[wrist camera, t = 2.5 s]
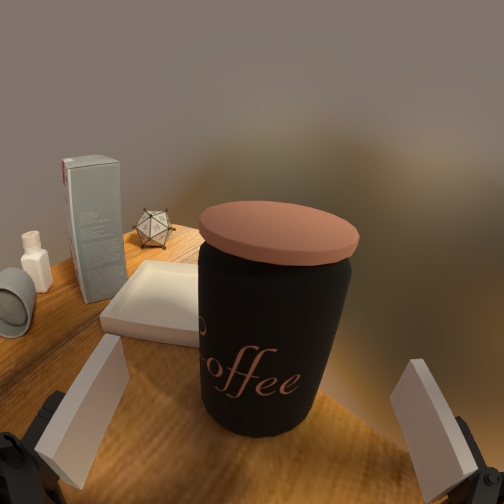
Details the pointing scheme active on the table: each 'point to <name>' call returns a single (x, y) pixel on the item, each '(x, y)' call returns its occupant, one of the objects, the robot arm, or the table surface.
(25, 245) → the pepper shaker
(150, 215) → the game die
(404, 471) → the table surface
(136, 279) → the tray
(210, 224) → the coffee jar
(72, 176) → the hard drive box
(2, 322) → the ceramic mug
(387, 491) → the table surface
